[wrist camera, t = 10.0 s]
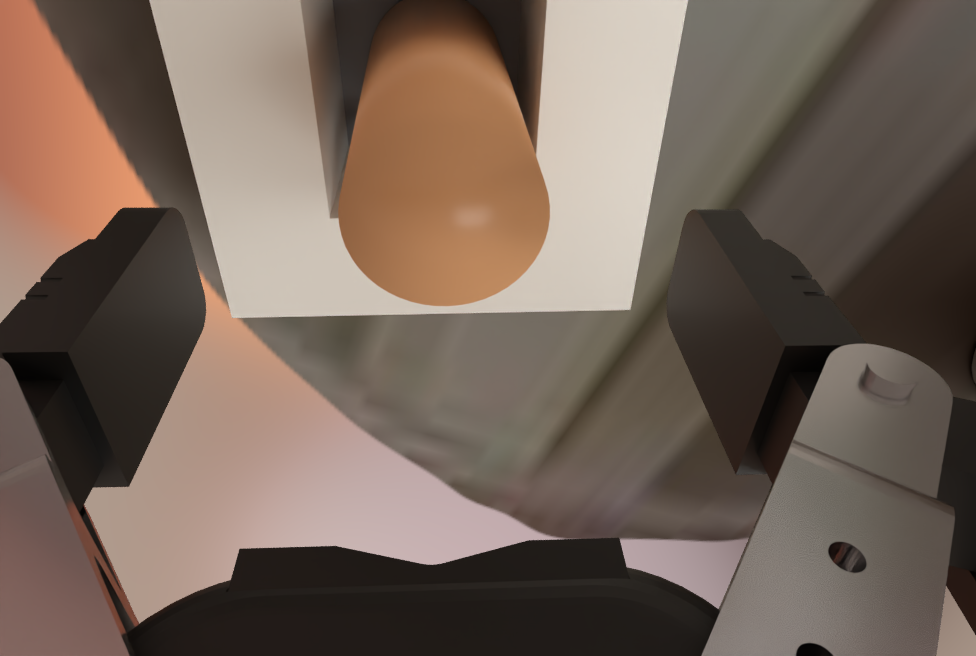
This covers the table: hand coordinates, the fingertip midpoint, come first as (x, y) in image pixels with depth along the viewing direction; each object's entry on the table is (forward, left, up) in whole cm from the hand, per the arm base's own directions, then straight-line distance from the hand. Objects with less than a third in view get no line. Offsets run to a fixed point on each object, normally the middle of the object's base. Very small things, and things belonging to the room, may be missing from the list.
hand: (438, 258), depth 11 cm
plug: (0, 0, -12) cm, 12 cm away
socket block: (0, 0, -13) cm, 13 cm away
